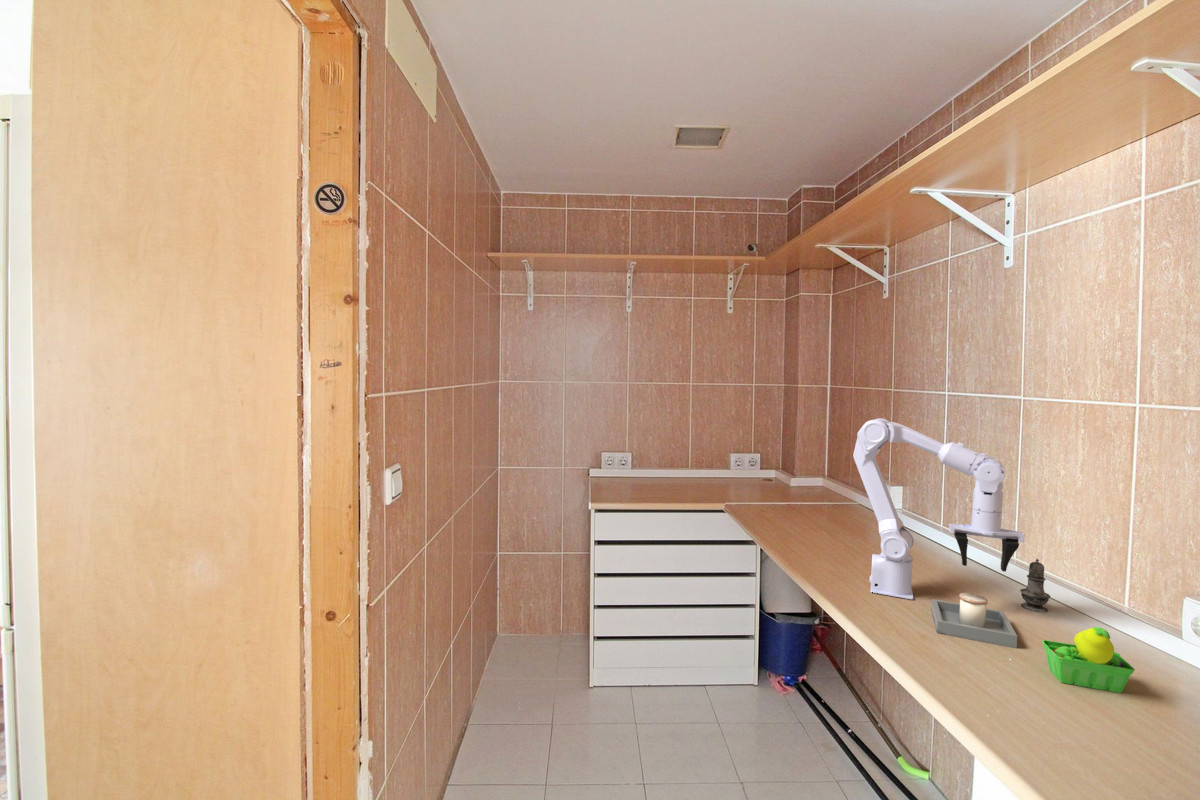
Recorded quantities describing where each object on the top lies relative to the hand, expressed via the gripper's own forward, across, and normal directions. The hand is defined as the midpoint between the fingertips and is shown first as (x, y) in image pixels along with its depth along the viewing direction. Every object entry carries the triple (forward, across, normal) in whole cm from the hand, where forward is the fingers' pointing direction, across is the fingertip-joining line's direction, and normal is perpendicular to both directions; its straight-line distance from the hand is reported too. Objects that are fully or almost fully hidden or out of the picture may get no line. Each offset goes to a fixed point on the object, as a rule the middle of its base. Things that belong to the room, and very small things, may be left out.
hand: (983, 567), depth 134 cm
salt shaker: (+11, +12, +9) cm, 18 cm away
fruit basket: (+11, +12, -29) cm, 33 cm away
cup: (+10, -3, -12) cm, 16 cm away
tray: (+10, -4, -12) cm, 16 cm away
